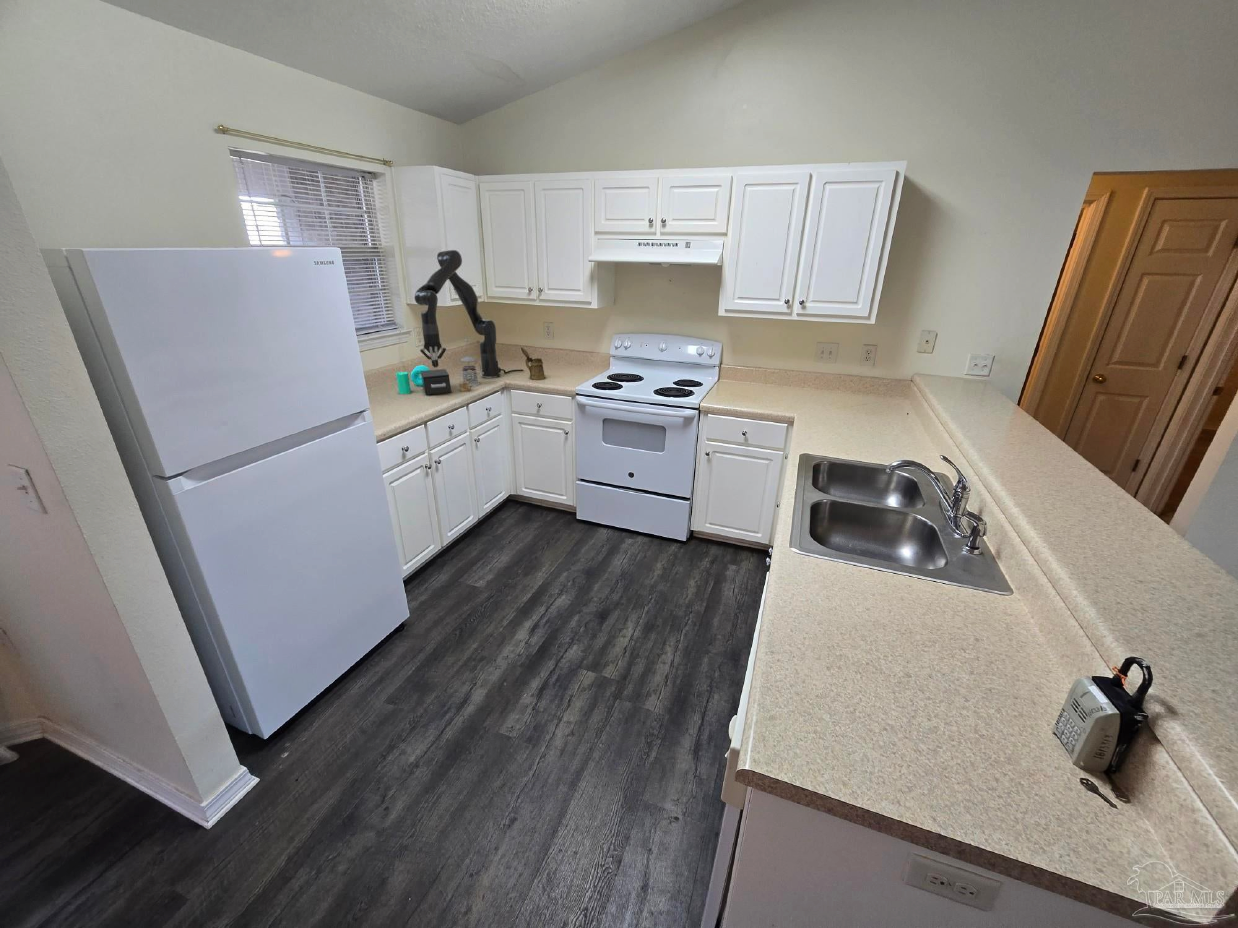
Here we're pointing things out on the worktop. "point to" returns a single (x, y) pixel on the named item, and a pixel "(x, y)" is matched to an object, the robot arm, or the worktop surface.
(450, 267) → the robot arm
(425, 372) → the box
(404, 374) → the candle
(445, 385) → the drawer
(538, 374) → the wooden mug
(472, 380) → the french press
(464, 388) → the block
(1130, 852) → the worktop surface
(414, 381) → the donuts
